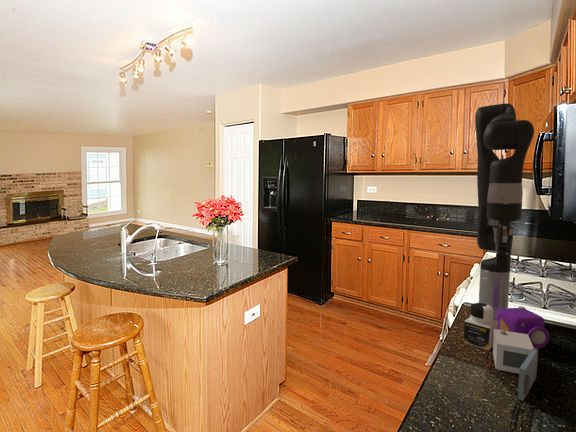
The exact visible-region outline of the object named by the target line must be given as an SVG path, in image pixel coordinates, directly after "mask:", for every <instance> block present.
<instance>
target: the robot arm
mask: <svg viewBox="0 0 576 432" xmlns="http://www.w3.org/2000/svg"><path fill="white" fill-rule="evenodd" d="M474 119H475V120H474V123H475V135H476V137H475V138H476V148H477V149H476V152H477V169H476V170H477V172H476V173H477V176H476V177H477V180H476V182H477V183H476V184H477V185H476V186H477V203H478V207H477V209H478V211H477V212H478V213H477V230H476V231H477V232H476V234H477V235H476V243H477V244H476V245H477V246H478V247H477V248H478V249H480V250H482V251H483V250H484V251H491V252H496V253H495V254H496V255H495V257H491V258H485V259H482V260H481V261H480V269H479V288H478V289H479V290H478V291H479V293H478V303H484V304H487V305H489V306H491V307H492V308H493V309H494V310H493V320H496V321H497V311H498V309H502V308H509V293H510V277H511V276H510V274H511V273H510V272H511V258H512V257H511V256H512V249H513V241H514V233H513V232H514V227H512V226H511V222H512V221H514V222H517V221H520V220H521V219H522V213H523V211H522V209H523V195H524V194H523V193H524V192H523V173H524V172H523V171H524V164H525V159H526V156H527V153H528V151H529V148H530V146H531V144H532V141H533V138H534V135H535V127H534V124H533V123H532V122H531V121H529V120H528V119H520V120H519V119H517V114H516V110H515V107H514V106H513V104H510V103H497V104H491V105H485V106H480V107H478V108H477V109H476V112H475V117H474ZM504 150H505V151H506V150H507V151H509V150H514V153H513V154H512V155H511V156H509V157H506V158H505V157H504V158H501V159H500V158H499V157H498V156H497V154H496V153H495V152H494V151H504ZM489 220H491V221H496V225H491V224H489Z"/></svg>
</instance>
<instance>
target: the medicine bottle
mask: <svg viewBox="0 0 576 432" xmlns="http://www.w3.org/2000/svg"><path fill="white" fill-rule="evenodd" d="M469 310H470V312H469V313H470V315H469V317H468V318H466V319H465V320H464V325H463V344H467V345H470V346H473V347H476V348H480V349H483V350H486V351H490V350H491V349H493V340H494V329H497V330H498V321H497V320H496V319H493V310H494V309H493V308H492V307H491V306H489V305H487V304H484V303H479V302H475V303H471V305H470V309H469Z"/></svg>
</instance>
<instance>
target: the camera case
mask: <svg viewBox="0 0 576 432" xmlns="http://www.w3.org/2000/svg"><path fill="white" fill-rule="evenodd" d="M532 348H534V347H533V345H532V343H531V341H530V338H529V336H528V334H522V333H516V332H510V331H503V330H497V329H494V340H493V347H492V356H493V360H494V361H493V362H494V366H495V370H498V371H503V372H506V373H507V372H508V373H512V374H518V375H519V369H520V367H521V365H522V364H523V362H524V361H525V359H526V358H527V357H528V355H529V354H530V352H531V351H532Z"/></svg>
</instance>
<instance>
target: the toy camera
mask: <svg viewBox="0 0 576 432" xmlns="http://www.w3.org/2000/svg"><path fill="white" fill-rule="evenodd" d="M496 321H498V330H503V331H510V332H516V333H522V334H528V336H529V338H530V341H531V343H532V345H533V348H536V349H538V350H539V349H542V348H544V347H545V346H546V345H548V343H549V340H550V332H549V331H548V329H547V328H545V324H546V323H545V319H544V317H542V316H541V315H539V314H537V313H534V311H533V312H532V311H531V310H529V309H526V307H524V306H523V305H522V306H521V305H519V306H518V307H508V308H502V309H498V311H497V320H496Z"/></svg>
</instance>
